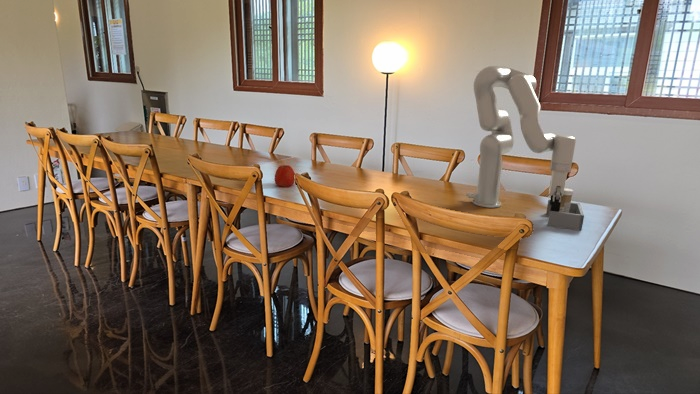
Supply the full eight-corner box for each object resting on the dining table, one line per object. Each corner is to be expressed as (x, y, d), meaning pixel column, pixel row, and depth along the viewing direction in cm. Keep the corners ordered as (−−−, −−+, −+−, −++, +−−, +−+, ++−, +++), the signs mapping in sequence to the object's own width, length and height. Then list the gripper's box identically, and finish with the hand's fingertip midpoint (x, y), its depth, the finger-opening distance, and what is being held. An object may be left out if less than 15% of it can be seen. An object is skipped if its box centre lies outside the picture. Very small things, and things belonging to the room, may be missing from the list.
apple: (292, 182, 228) (292, 162, 225) (297, 187, 219) (297, 166, 216) (272, 183, 224) (272, 163, 221) (277, 188, 215) (276, 167, 212)
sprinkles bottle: (553, 219, 182) (558, 187, 178) (563, 219, 183) (569, 187, 179) (559, 223, 178) (564, 190, 174) (570, 223, 178) (575, 190, 174)
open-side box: (547, 225, 174) (549, 211, 172) (546, 213, 190) (548, 199, 188) (581, 230, 170) (584, 215, 168) (577, 217, 186) (579, 203, 184)
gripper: (549, 162, 184) (543, 201, 189) (551, 170, 169) (544, 212, 173) (569, 164, 182) (563, 204, 186) (572, 172, 166) (565, 215, 171)
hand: (554, 208), depth 180 cm, fingers open, 9 cm apart
